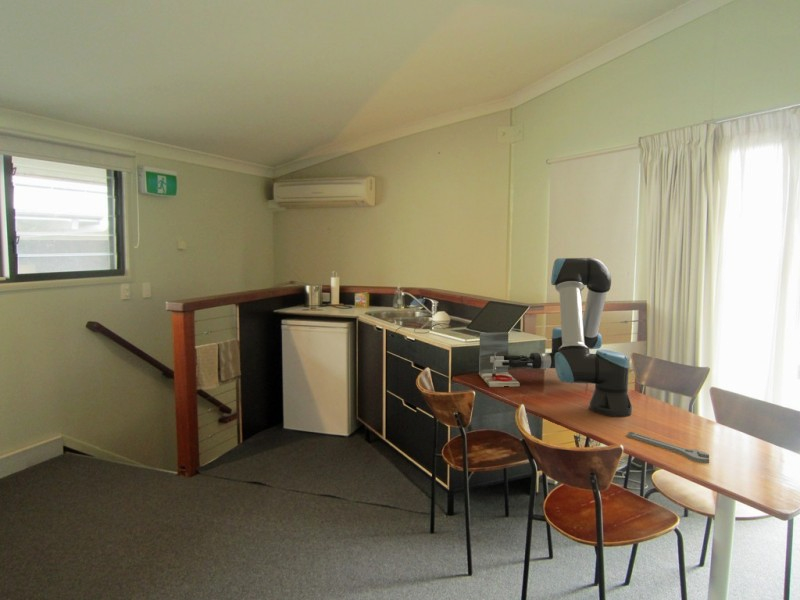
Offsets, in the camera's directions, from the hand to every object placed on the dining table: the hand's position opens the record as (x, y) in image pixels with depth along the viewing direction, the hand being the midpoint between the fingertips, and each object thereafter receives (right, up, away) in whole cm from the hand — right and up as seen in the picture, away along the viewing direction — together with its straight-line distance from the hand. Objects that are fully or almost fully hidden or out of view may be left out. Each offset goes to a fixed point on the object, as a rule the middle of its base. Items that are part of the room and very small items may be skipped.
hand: (492, 361), depth 224 cm
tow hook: (+5, -9, +1) cm, 10 cm away
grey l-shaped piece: (+4, -10, +4) cm, 11 cm away
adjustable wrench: (+41, -18, -74) cm, 87 cm away
